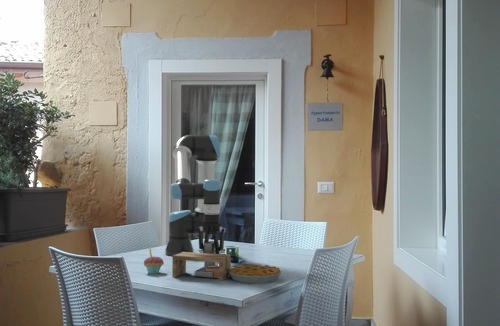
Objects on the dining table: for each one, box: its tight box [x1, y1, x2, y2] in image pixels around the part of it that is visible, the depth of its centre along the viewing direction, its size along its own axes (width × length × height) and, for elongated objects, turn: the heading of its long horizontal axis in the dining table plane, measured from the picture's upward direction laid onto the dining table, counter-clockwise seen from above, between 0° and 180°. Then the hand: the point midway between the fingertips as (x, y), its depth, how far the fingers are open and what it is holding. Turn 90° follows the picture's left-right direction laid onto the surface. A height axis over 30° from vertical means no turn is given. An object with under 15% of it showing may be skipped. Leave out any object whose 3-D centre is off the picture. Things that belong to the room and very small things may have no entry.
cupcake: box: [143, 245, 164, 275], centre depth 235 cm, size 9×8×12 cm
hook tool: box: [194, 240, 219, 278], centre depth 233 cm, size 21×9×12 cm, turn 164°
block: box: [205, 266, 219, 279], centre depth 228 cm, size 6×6×4 cm
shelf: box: [171, 252, 232, 281], centre depth 228 cm, size 11×22×9 cm, turn 74°
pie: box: [229, 263, 282, 284], centre depth 224 cm, size 22×22×5 cm
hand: (211, 265), depth 240 cm, fingers closed on hook tool, 3 cm apart
